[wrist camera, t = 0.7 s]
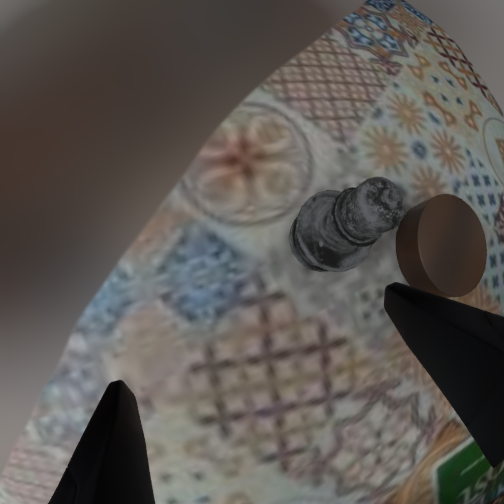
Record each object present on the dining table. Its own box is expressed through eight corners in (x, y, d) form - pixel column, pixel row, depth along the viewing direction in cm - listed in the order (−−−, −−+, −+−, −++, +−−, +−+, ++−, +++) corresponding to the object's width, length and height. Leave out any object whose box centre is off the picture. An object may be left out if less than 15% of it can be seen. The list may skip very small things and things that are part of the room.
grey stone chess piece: (344, 199, 26) (423, 135, 14) (360, 267, 25) (456, 243, 13) (279, 209, 25) (326, 138, 13) (294, 281, 24) (360, 267, 12)
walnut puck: (473, 240, 27) (495, 234, 23) (443, 315, 25) (467, 315, 22) (417, 186, 27) (437, 173, 23) (380, 262, 25) (401, 257, 22)
